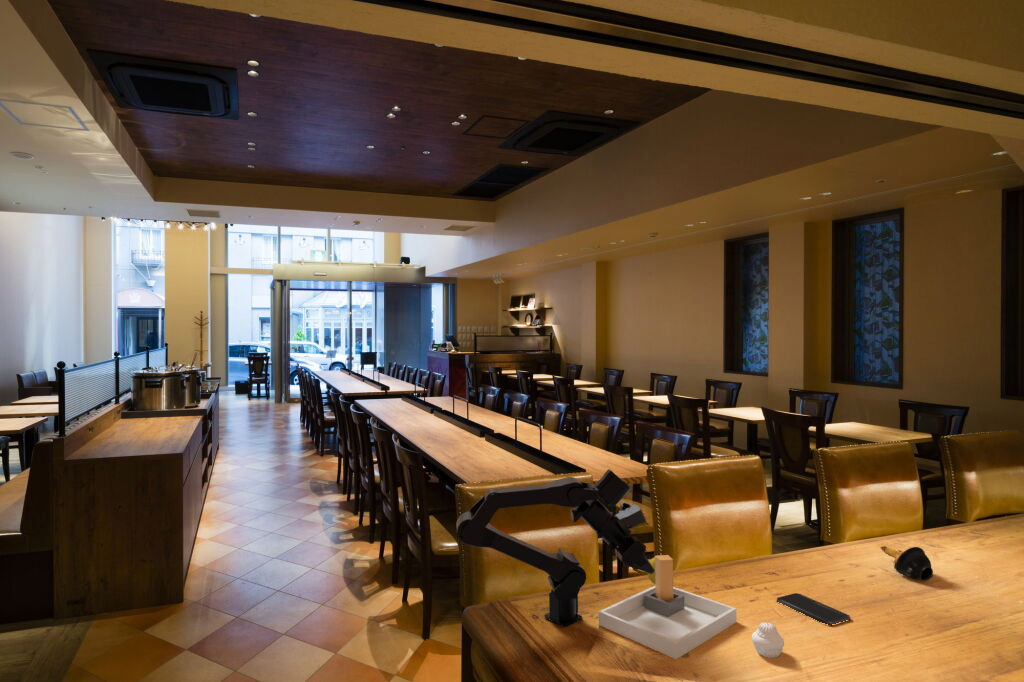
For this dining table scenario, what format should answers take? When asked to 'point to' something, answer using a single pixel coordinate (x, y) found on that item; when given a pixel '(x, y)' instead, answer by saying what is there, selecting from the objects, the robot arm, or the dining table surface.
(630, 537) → the robot arm
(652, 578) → the lemon
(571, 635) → the dining table surface
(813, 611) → the phone
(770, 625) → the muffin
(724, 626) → the walled tray
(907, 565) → the toilet plunger
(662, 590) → the tan square peg
